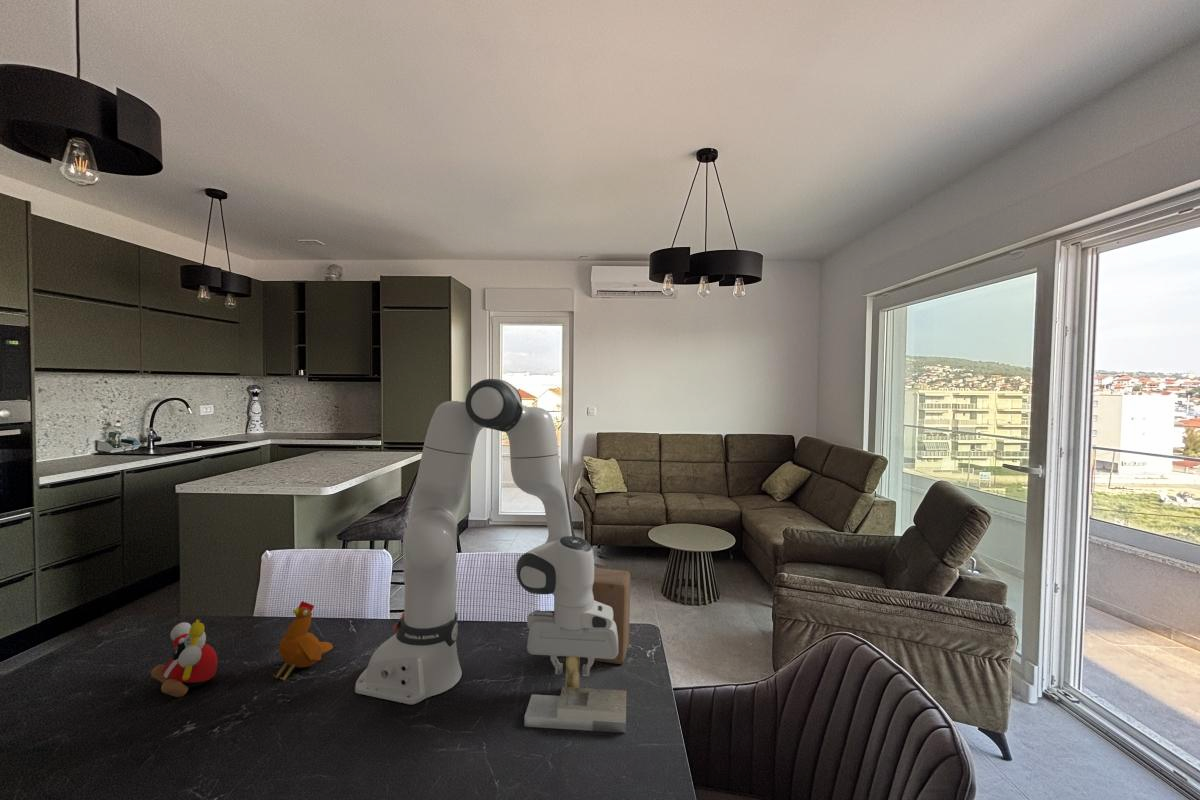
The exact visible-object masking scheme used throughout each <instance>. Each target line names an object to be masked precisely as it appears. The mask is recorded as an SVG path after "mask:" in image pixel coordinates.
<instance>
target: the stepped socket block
mask: <svg viewBox="0 0 1200 800" xmlns="http://www.w3.org/2000/svg"><path fill="white" fill-rule="evenodd" d="M561 687H562V688H561V691H560V695H552V694H551V695H549V694H547V695H546V694H536V693H535V694H531V695H530V699H529V702H528V706H527V707H526V711H525V714H524V721H523V722H524V727H528V728H544V729H545V728H546V729H556V730H557V729H561V730H574V731H576V730H577V731H590V732H604V733H605V732H606V733H620V734H622V733H623V734H626V733H627V731H626V730H627V690H625V689H624V690H621V689H607V688H606V689H603V688H589V687H588V688H587V687H579V688H574V687H566V686H561Z"/></svg>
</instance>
